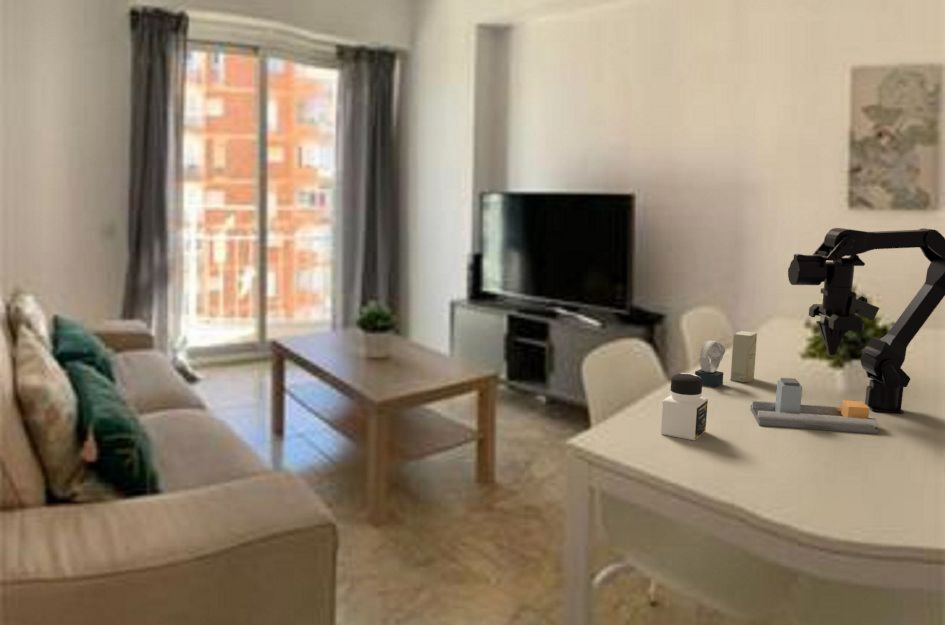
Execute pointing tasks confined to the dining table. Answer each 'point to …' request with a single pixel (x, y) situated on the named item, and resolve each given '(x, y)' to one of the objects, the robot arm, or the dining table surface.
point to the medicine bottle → (684, 408)
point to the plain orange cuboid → (854, 409)
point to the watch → (711, 364)
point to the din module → (788, 396)
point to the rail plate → (812, 418)
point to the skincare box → (743, 356)
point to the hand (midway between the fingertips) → (831, 354)
